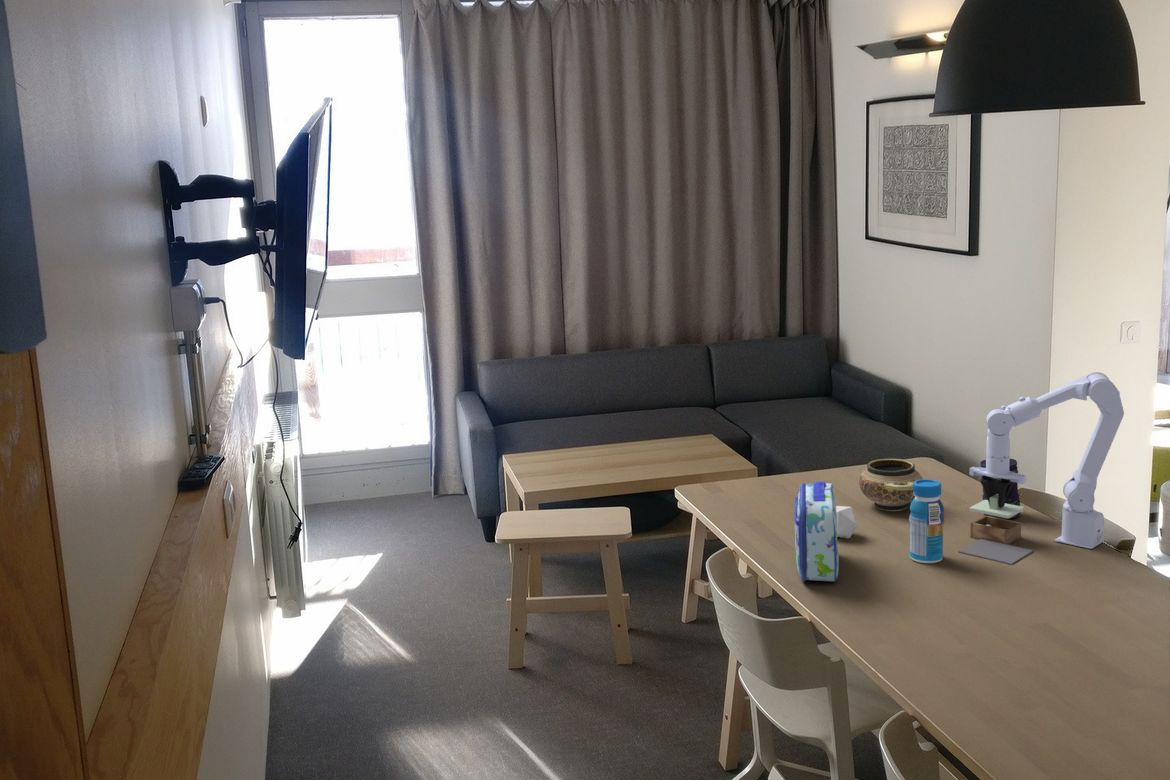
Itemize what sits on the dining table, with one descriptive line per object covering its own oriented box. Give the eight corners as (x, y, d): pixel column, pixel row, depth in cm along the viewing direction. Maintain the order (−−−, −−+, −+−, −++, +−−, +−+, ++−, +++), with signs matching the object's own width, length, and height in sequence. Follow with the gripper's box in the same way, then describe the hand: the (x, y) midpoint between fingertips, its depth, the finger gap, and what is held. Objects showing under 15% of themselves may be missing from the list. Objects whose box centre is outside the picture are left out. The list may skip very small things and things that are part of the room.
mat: (1033, 551, 274) (1033, 550, 274) (1011, 564, 266) (1011, 563, 266) (981, 539, 284) (981, 538, 284) (958, 552, 276) (958, 551, 276)
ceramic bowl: (856, 504, 327) (844, 458, 324) (913, 486, 327) (901, 441, 323) (880, 530, 303) (867, 482, 300) (941, 512, 303) (929, 463, 299)
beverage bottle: (905, 561, 272) (906, 485, 268) (912, 550, 279) (913, 476, 275) (940, 566, 268) (941, 488, 264) (946, 554, 275) (947, 479, 271)
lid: (1024, 512, 283) (1024, 496, 282) (1008, 520, 277) (1009, 504, 276) (984, 504, 291) (985, 488, 290) (969, 512, 285) (969, 496, 284)
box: (1020, 537, 284) (1021, 522, 284) (1006, 545, 279) (1007, 530, 278) (984, 529, 292) (985, 515, 291) (970, 537, 286) (970, 523, 286)
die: (861, 534, 295) (844, 502, 298) (866, 528, 286) (848, 495, 289) (833, 547, 294) (816, 515, 298) (837, 542, 286) (819, 508, 289)
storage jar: (1023, 517, 296) (1020, 465, 294) (985, 519, 299) (982, 467, 296) (1017, 507, 306) (1014, 456, 304) (981, 509, 308) (977, 459, 306)
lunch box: (795, 550, 284) (794, 473, 280) (837, 551, 282) (837, 473, 277) (794, 587, 259) (793, 504, 255) (840, 589, 257) (840, 505, 252)
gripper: (1032, 456, 278) (1030, 506, 281) (978, 448, 289) (977, 496, 292) (1019, 462, 274) (1018, 513, 276) (966, 453, 284) (965, 503, 287)
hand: (996, 505), depth 284 cm, fingers closed on lid, 2 cm apart
